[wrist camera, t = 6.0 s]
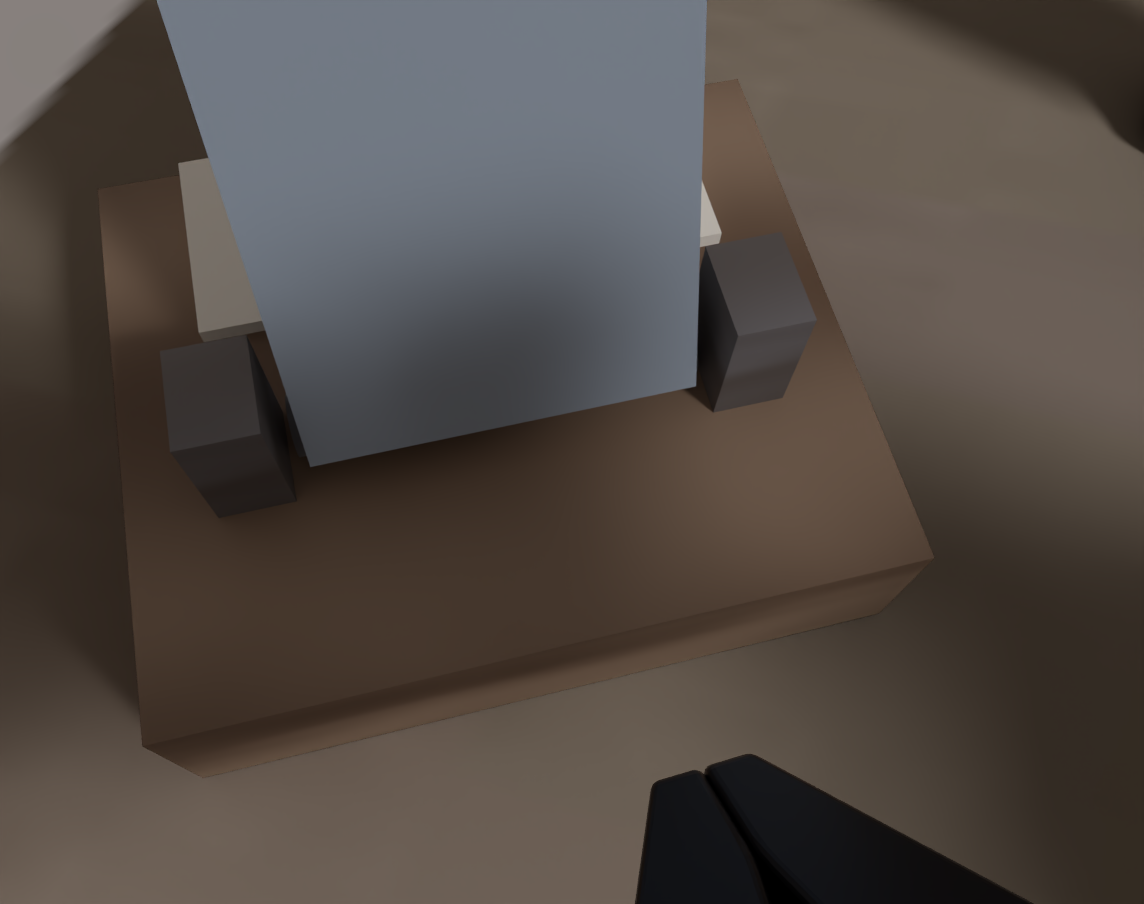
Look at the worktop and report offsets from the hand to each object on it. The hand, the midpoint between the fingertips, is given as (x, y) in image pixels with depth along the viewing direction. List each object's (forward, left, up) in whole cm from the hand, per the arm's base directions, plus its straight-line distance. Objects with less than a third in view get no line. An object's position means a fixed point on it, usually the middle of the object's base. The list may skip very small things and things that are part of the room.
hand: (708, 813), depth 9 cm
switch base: (+5, +5, -10) cm, 12 cm away
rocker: (+5, +5, -7) cm, 10 cm away
